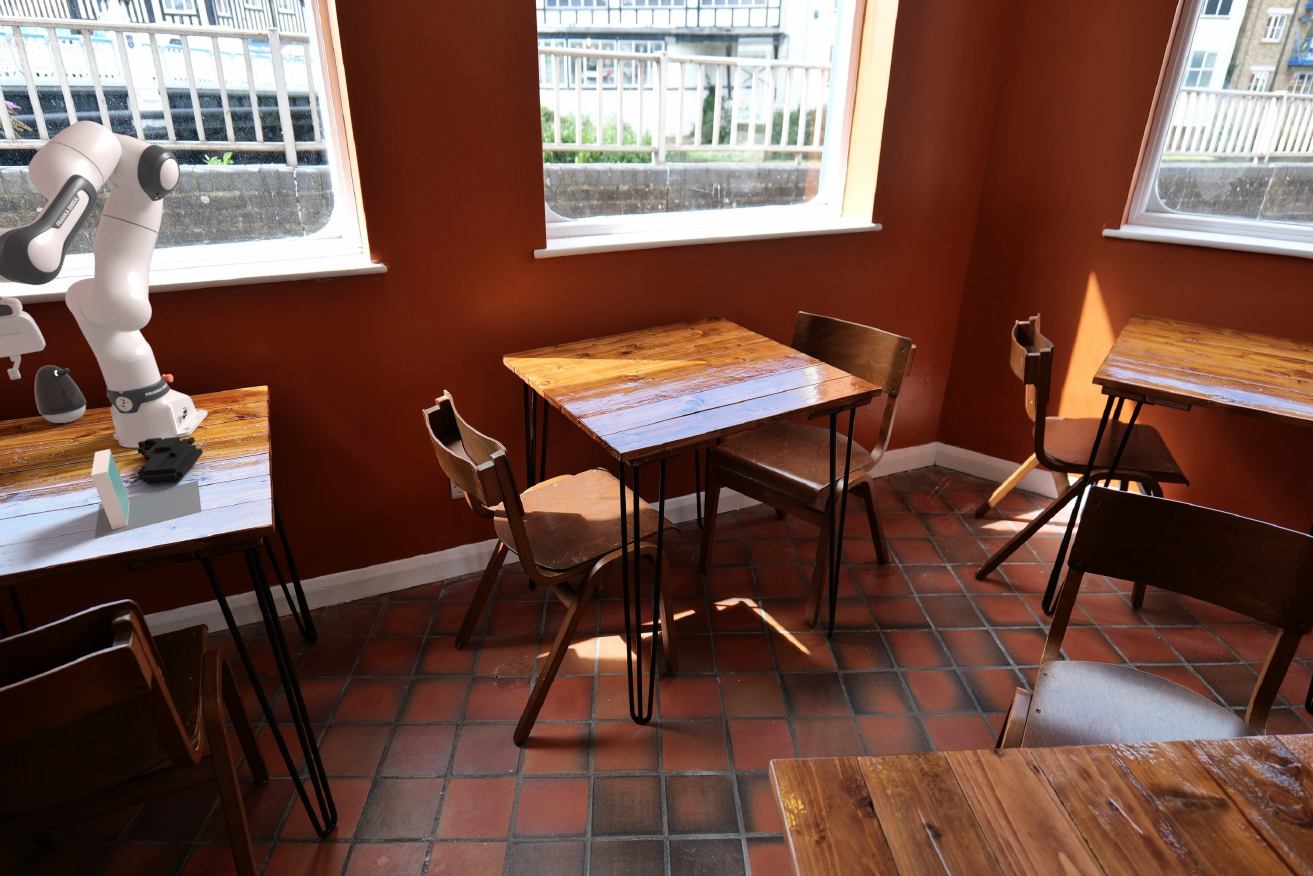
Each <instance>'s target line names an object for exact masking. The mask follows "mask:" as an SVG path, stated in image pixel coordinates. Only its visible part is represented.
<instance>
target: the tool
mask: <svg viewBox="0 0 1313 876" xmlns="http://www.w3.org/2000/svg"><path fill="white" fill-rule="evenodd" d="M195 442H196V439H195V437H194V436H193V437H192V436H191V437H188V438H182V439H181V437H172V438H164V439H162V438H152V439H146V440H145V441H140V442H139V443H138V446H139V447H137V449H136V451H137V453H138V454H141V456H143V457H144V460H145V463H144V464H142V466H141V468H140V469H139V470H138V471H137V475H138V478H139V481H142V482H144V483H146V484H147V485H150V484H151V485H152V484H153V485H154V484H161V483H162V484H163V483H170V482H171V483H173V482H180V480H182V478H183V477H184V476H185V475H186V473H188V471H190V469H191V468H192V467H193V466H194V465H195V463H196V462H197V461H198V460H199V458H200V457H201V456H202V454H203V453H204V452H203V449H202V448H197V447H196V446H197V445H196V444H194V443H195Z"/></svg>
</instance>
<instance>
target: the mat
mask: <svg viewBox="0 0 1313 876" xmlns="http://www.w3.org/2000/svg"><path fill="white" fill-rule="evenodd" d="M128 498H129V513H128V526H125V527H121V528H117V529H113V530H112V527H111V525H110V522H109V520H108V517H107V514H106V512H105V509H104V507H103V504H102V502H100V503H99V507H98V514H97V520H96V521H97V522H96V529H95V534H94V539H95V540H96V539H100V538H105V537H108V536H111V535H115V534H118V533H119V534H120V533H122V532H127V531H131V530H134V529H139V528H143V527H147V526H150V525H151V526H152V525H155V524H159V523H162V522H166V521H171V520H175V519H178V518H183V517H186V516H190V515H193V514H198V513H202V506H201V504H202V503H201V496H200V486H199V480H195V481H190V482H187V483H181V484H178V485H174V486H170V487H166V488H161V489H157V490H153V491H148V492H144V493H140V494H136V495H131V496H128Z"/></svg>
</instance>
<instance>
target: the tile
mask: <svg viewBox="0 0 1313 876" xmlns="http://www.w3.org/2000/svg"><path fill="white" fill-rule="evenodd" d="M90 477H91V478H92V481H93V484H94V486H95V489H96V491H97V494H98V496H99V500H100V501H101V502H100V503H102V504H103V507H104V509H105V512H106V514H107V517H108V520H109V522H110V525H111V527H112V530H113V529H117V528H121V527H125V526H128V513H129V498H128V497H129V496H128V494H127V491H126V487H125V485H124V483H123V480H122V478H121V474H120V472H119V469H118V467H117V464H116V462H115V459H114V456H113V453H112V451H111V448H108V449H105V450H99V451H95V452H94V457H93V463H92V469H91V474H90Z"/></svg>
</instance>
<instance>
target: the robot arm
mask: <svg viewBox="0 0 1313 876" xmlns="http://www.w3.org/2000/svg"><path fill="white" fill-rule="evenodd" d="M179 164H180V163H179V162H178V159H177V158H176V156H175V155H174V154H173V153H172V152H171V151H170V150H168V149H165V148H164V147H163V146H160V145H158V144H152V143H150V142H146V141H145V140H142V139H139V138H138V137H137V138H136V137H133V136H130V135H126V134H120V133H115V132H112V131H111V130H110V129H108V128H107V127H106V126H105V125H102V124H101V123H98V122H96V121H91V120H80V121H76V122H75V123H72V124H71V125H69V126H67V127H65V128H64V129H62V130H60V131H59V132H58V133H56V135H54V136H53V137H52V138H50V140H48V141H47V142H46V143H45V144H44V145H43V146H42V147H41V148H40V149H39V150H38V151H37V152H36V153H35V154H34V155H33V157H32V159H31V160H30V161H29V165H28V167H27V168H28V175H29V178H30V180H31V183H32V184H33V186H34V187H35V189H36V190H37V191H38V192H39V193H40V194H41V195H42V196H44V198H46V199H47V200H48V201H47V202H46V203H45V205H44V206H43V208H41V210H40V212H39V213H38V215H37V216H36V217H35V219H34V220H33V221H32V222H30V223H28V224H26V225H22V226H18V227H10V228H9V227H8V228H7V227H0V283H17V284H23V285H29V286H30V285H31V286H41V285H45V284H49V283H51V282H52V281H54V279H56V278H57V277H58V276H59V274H60V272H61V270H62V269H63V265H64V261H65V257H66V255H67V252H68V250H69V247H70V246H71V244H72V242H73V241H74V239H75V238H76V236H77V235H78V233H79V232H80V231H81V228H82V226H83V225H84V224H85V222H86V221H87V220H88V218H89V216H90V214H91V213H92V212H93V210H94V207H95V206H96V203H97V198H98V194H97V193H98V192H99V190H100V189H101V188H102V187H103V185H105V183H107V184H110V185H112V188H111V191H110V193H109V194H108V196H107V199H106V202H105V204H104V207H103V210H102V212H101V213H102V214H101V216H100V220H99V224H98V227H97V231H96V234H95V238H94V241H93V246H92V252H93V254H94V255H93V256H94V277H89V278H83V279H80V280H78V281H75V282H73V283H72V284H71V285H70V286H69V287H68V289H66V293H65V304H66V306H67V308H68V309H69V311H70V312H71V313H72V315H73V317H74V319H75V320H76V322H77V325H78V326H79V328H80V331H81V333H82V335H83V336H84V338H85V339H86V341H87V343H88V345H89V346H90V349H91V350H92V352H93V354H94V356H95V358H96V361H97V362H98V363H97V364H98V366H99V368H100V371H101V373H102V376H103V379H104V381H105V385H106V389H105V390H106V396H107V398H108V399H109V402H110V404H111V406H110V414H111V419H112V422H113V426H114V430H115V432H114V433H113V434H112V435H113V439H114V440H116V441H118V444H119V446H121V447H125V448H129V449H130V448H134V449H135V448H137V449H138V448H139V446H138V443H139V442H140V441H145V440H146V439H152V438H162V439H164V438H172V437H180V438H184V437H188V436H190V435H192V434H193V432H194V431H195V430H196V429H197V427H199V425H200V424H201V423H202V422H203V421H204V419H205V418H206V417H207V416H208V411H207V409H206V410H205V409H201V408H196V407H195V404H194V402H193V400H192V398H191V396H190V395H187V394H185V393H182V392H179V391H176V390H174V389H171V388H170V386H169V385H168V383H172V382H174V376H173V375H172V374H171V373H169V374H162V375H161V373H160V370H159V368H158V365H157V361H156V359H155V355H154V352H153V350H152V347H151V345H150V344H149V343H148V342H147V341H146V339H145V337H144V336H143V333H141V331H140V330H141V329H143V328H144V327H146V326H147V325H148V324H149V322H150V320H151V318H152V313H153V312H152V305H151V303H150V300H149V292H150V291H149V286H150V285H149V284H150V267H151V262H152V258H153V254H154V250H155V247H156V243H157V239H158V235H159V232H160V228H161V224H162V217H163V211H164V210H163V207H164V197H165V196H168V195H169V194H170V193H172V192H173V190H174V189H175V188H176V187H177V185H178V184H179V180H180V175H181V170H180V169H181V168H180V165H179ZM45 347H46V341H45V338H44V336H43V334H42V332H41V330H40V328H39V326H38V325H37V323H36V321H35V319H34V318H33V317H32V316H31V315H30V314H29V313H28V312H26V311H23V305H22V302H21V301H20V300H19V298H16V297H10V296H0V358H7V357H9V358H10V361H11V362H14V363H13V367H12V368H8V369H7V373H8V376H9V379H10V380H11V381H12V380H18V379H21V378H22V377H21V374H20V371H19V368H20V364H21V361H22V358H21V355H23V354H24V355H25V354H30V353H34V352H35V353H36V352H41V351H43V350H44V349H45Z"/></svg>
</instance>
